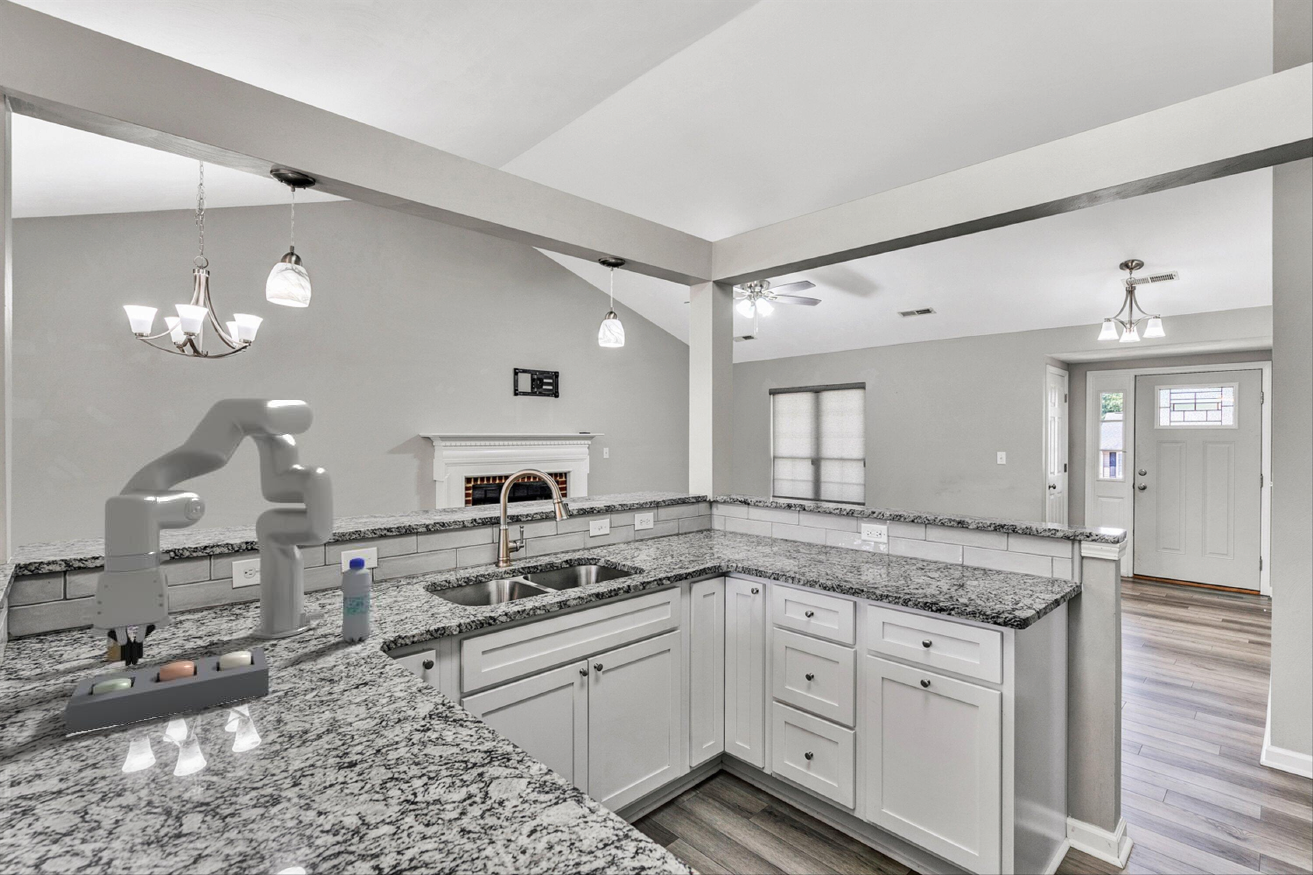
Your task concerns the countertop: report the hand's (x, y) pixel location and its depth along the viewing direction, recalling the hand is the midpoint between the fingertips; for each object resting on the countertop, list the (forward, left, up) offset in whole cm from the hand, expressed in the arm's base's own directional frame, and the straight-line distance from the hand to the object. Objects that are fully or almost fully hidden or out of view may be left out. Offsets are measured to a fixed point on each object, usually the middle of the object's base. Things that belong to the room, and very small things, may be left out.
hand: (132, 663), depth 108 cm
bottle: (-40, -18, -9) cm, 45 cm away
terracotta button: (-6, 0, -5) cm, 8 cm away
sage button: (+3, 0, -7) cm, 7 cm away
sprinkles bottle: (+5, -36, -9) cm, 37 cm away
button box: (-6, 0, -8) cm, 11 cm away
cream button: (-15, 0, -5) cm, 16 cm away
